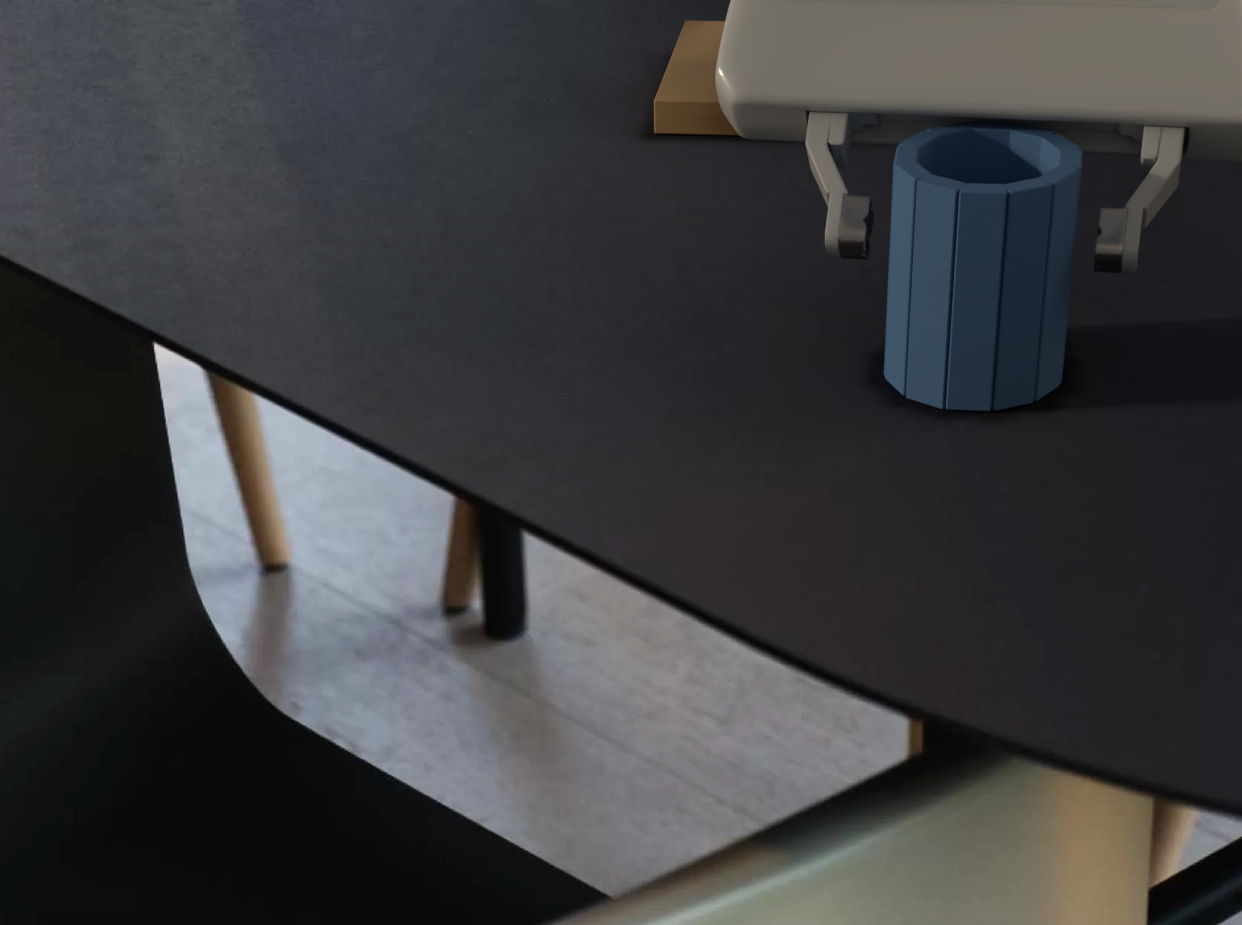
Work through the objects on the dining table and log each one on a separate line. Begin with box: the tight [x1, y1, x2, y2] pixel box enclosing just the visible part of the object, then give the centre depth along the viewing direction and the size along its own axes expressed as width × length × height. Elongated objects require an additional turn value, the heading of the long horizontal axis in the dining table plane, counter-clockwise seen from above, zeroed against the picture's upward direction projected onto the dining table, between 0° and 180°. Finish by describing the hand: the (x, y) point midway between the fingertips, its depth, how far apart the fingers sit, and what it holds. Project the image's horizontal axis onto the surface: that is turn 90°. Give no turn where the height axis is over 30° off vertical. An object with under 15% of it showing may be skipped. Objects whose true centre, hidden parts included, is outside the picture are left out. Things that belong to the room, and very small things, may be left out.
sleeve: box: [883, 121, 1083, 412], centre depth 95 cm, size 6×6×8 cm
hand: (978, 260), depth 94 cm, fingers open, 8 cm apart
